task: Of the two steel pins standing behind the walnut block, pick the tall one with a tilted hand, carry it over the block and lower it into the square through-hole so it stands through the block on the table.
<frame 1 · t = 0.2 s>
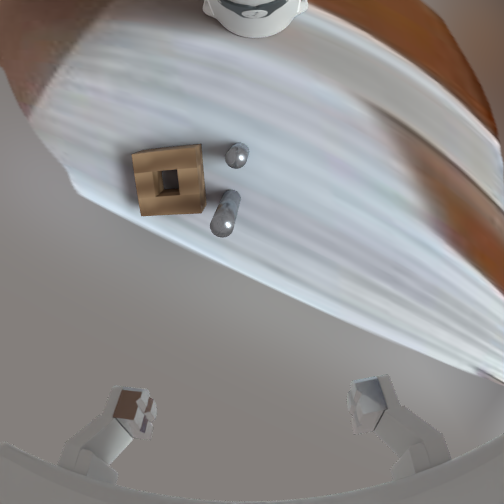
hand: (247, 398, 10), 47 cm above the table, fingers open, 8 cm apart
long pin: (231, 198, 56), on the table
short pin: (239, 151, 51), on the table
hole block: (173, 176, 54), on the table
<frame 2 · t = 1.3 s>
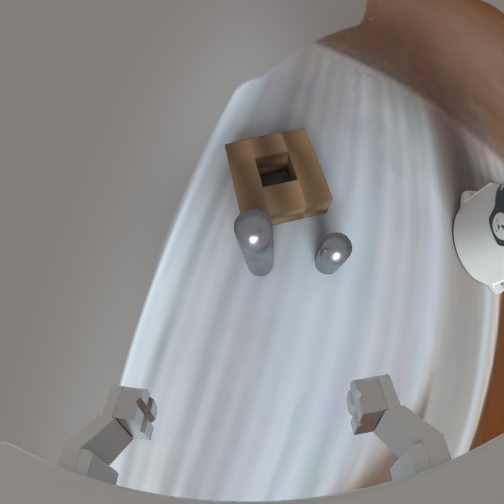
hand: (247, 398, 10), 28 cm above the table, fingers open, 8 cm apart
long pin: (260, 263, 40), on the table
short pin: (327, 261, 40), on the table
hole block: (276, 186, 43), on the table
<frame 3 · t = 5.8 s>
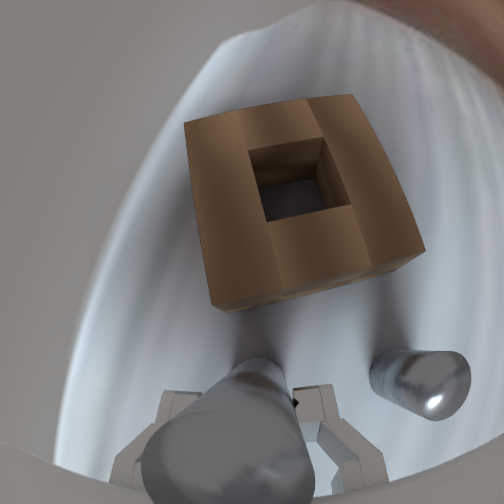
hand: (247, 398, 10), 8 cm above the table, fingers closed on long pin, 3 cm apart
long pin: (257, 383, 18), on the table, touching gripper
short pin: (392, 373, 17), on the table
hole block: (292, 211, 21), on the table
when the fingers open (10 cm above the table, at t = 11.3 s): long pin drops 2 cm, resting in hole block.
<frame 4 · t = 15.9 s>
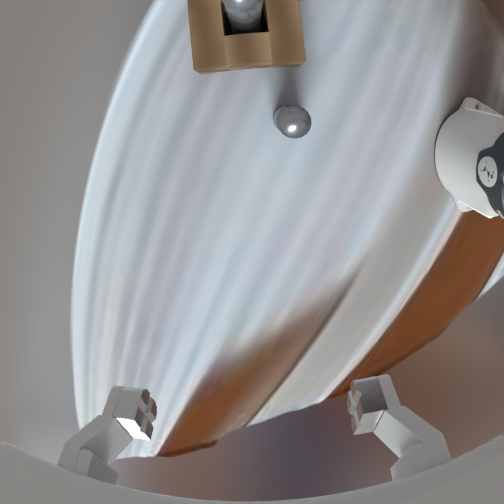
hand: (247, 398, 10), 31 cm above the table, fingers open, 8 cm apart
long pin: (245, 26, 28), resting in hole block
short pin: (287, 119, 34), on the table
hole block: (245, 26, 28), on the table
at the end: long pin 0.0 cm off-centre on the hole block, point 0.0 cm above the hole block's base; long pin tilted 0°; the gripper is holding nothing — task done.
